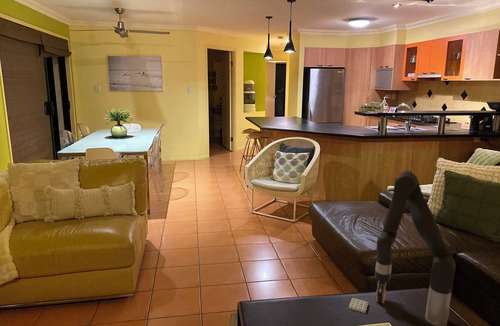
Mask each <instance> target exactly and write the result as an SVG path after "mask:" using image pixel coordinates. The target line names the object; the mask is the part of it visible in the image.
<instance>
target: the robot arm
mask: <svg viewBox="0 0 500 326" xmlns="http://www.w3.org/2000/svg"><path fill="white" fill-rule="evenodd" d="M407 202H408V206H409V212H410V215H411V216H410V217H411V219H412V223H413V225H414V228H415V230H416V231H417V234H418V235H419V236H420V238H421V239H422V240H423V242H424V243H425V244H426V245H427V246H428V248H429V251H430V253H431V256H432V260H433V262H432V265H431V269H430V270H431V271H430V278H429V287H428V294H427V301H426V307H425V315H424V319H425V320H426V321H427V323H429V324H430V325H433V326H448V319H449V314H450V302H451V297H452V292H453V284H454V279H455V273H456V266H457V265H456V261H455V258H454V257H453V255H452V254H451V252H450V250H449V248H448V247H447V245H446V243H445V241H444V237H443V235H442V233H441V231H440V228H439V226H438V224H437V220H436V219H435V217H434V215H433V212H432V211H431V209H430V206H429V205H428V203H427V201H426V199H425V197H424V195H423V192H422V189H421V186H420V182H419V180H418V177H417V175H415V173H413V172H411V171H408V170H407V171H403V172H401V173H399V174H398V176H397V177H396V178H395V179H394V185H393V192H392V198H391V202H390V205H389V208H388V210H387V213H386V216H385V219H384V222H383V229H382V232H381V234H380V235H379V236H378V238H377V240H376V252H377V254H376V262H375V268H374V269H375V270H374V278H375V280H377V284H376V285H377V288H376V293H377V297H378V301H377V303H379V304H383V303H382V298H383V293H384V291H385V289H386V286H387V282H390V280H391V276H392V260H393V254H392V246H393V244H395V241H396V239H397V235H398V230H399V228H400V226H401V222H402V220H403V217H404V211H405V206H406V204H407ZM377 291H378V292H377Z"/></svg>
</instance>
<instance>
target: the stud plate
mask: <svg viewBox="0 0 500 326" xmlns="http://www.w3.org/2000/svg"><path fill="white" fill-rule="evenodd" d="M350 300H351V301H350V303H349V305H348V310H353V311H357V312H359V313H363V314H366V313H367V309H368V305H369V302H368V301H366V300H363V299H362V300H361V299H358V298H355V297H352V298H351V299H350Z"/></svg>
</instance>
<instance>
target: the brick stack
mask: <svg viewBox="0 0 500 326" xmlns="http://www.w3.org/2000/svg"><path fill="white" fill-rule="evenodd" d="M386 291H387V289H386V288H385V291H384V293H383V298H382V303H381V304H385V301H386ZM377 292H378V291H377V290H376V293H375V294H376V296H375V302H377V301H378V297H377ZM377 303H378V302H377Z"/></svg>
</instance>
